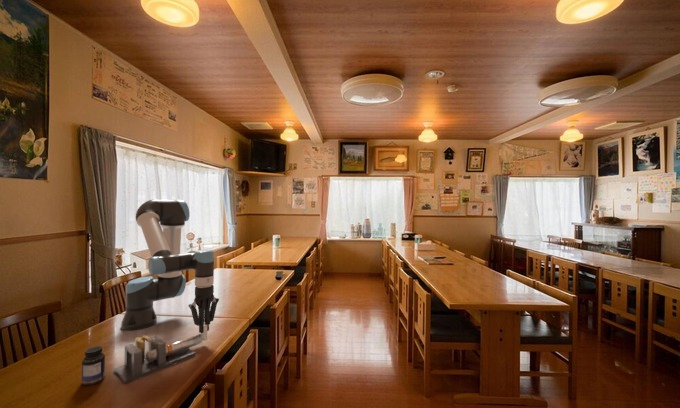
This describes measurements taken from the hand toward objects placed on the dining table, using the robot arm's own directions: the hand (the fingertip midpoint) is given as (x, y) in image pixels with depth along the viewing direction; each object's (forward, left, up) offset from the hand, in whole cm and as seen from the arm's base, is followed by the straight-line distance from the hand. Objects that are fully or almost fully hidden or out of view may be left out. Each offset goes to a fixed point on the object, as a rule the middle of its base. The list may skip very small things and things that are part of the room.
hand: (203, 339), depth 129 cm
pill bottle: (-5, -37, -3) cm, 37 cm away
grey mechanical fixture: (0, -19, -3) cm, 19 cm away
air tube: (0, -12, -1) cm, 12 cm away
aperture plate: (-2, -23, -1) cm, 23 cm away
